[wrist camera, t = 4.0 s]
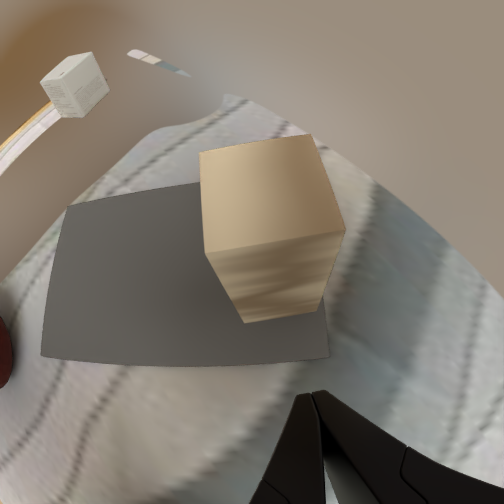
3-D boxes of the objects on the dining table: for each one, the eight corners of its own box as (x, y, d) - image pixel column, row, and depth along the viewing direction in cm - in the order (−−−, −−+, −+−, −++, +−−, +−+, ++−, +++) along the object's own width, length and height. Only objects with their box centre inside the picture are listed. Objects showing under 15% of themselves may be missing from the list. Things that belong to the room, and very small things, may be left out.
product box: (112, 91, 34) (93, 50, 27) (83, 119, 32) (59, 78, 25) (87, 91, 36) (68, 55, 29) (60, 118, 33) (38, 81, 27)
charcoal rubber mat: (43, 356, 19) (40, 355, 18) (69, 208, 25) (67, 206, 25) (328, 357, 17) (329, 356, 17) (301, 174, 23) (301, 171, 23)
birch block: (244, 323, 18) (204, 253, 9) (235, 258, 20) (199, 152, 11) (316, 311, 18) (346, 229, 9) (301, 246, 20) (310, 133, 11)
